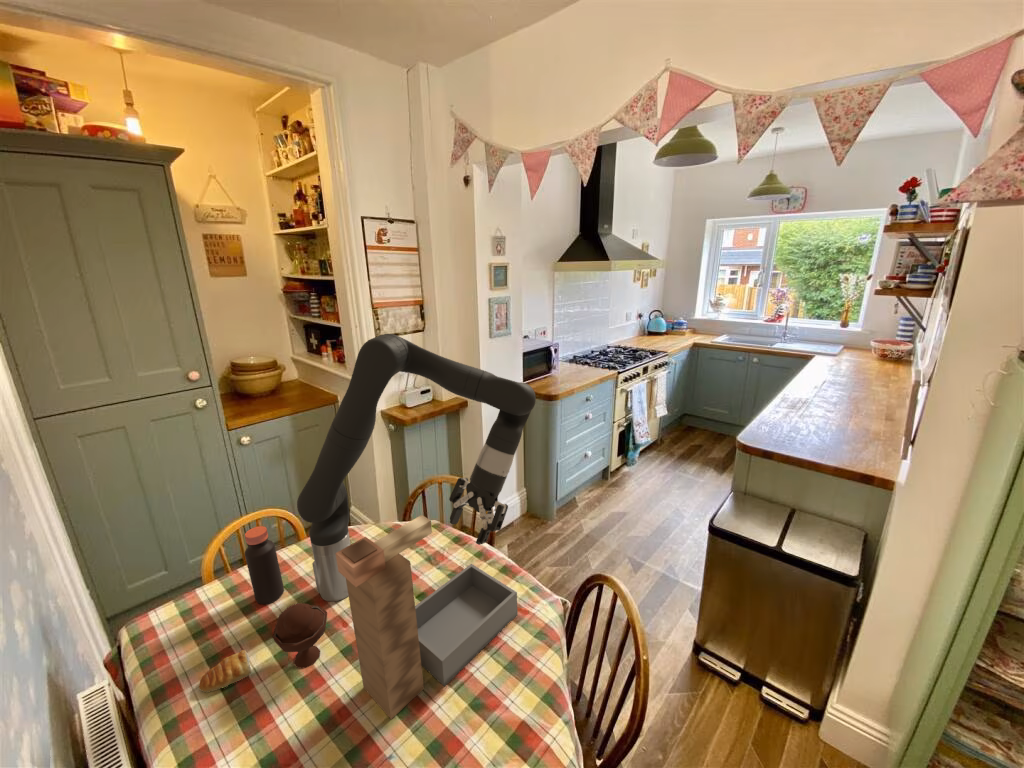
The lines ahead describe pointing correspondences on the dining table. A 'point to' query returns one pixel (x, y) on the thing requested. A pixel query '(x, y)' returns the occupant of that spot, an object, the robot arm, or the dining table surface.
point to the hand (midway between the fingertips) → (466, 533)
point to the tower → (388, 635)
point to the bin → (462, 621)
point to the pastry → (226, 672)
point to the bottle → (263, 566)
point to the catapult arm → (379, 551)
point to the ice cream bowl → (301, 632)
